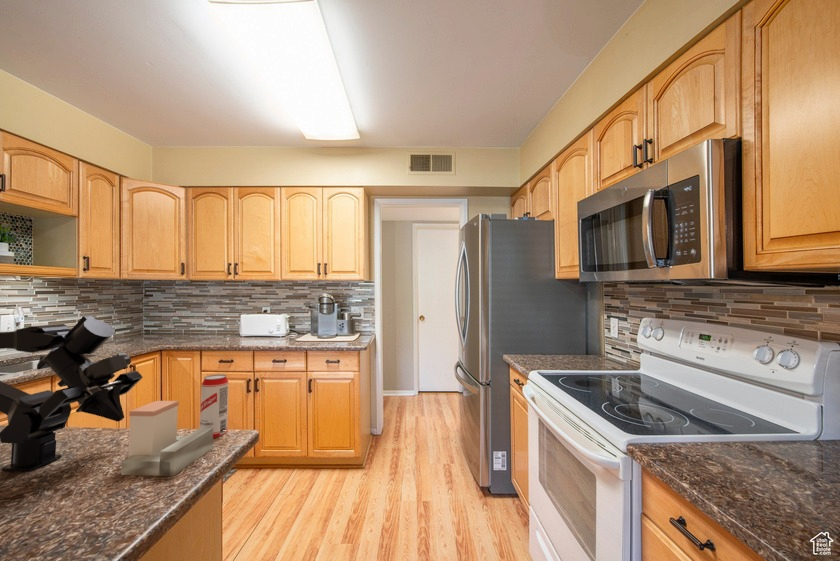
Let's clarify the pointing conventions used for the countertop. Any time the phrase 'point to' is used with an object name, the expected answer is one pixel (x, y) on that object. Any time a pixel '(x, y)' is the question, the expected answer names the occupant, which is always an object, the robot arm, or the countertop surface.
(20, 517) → the countertop surface
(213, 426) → the beer can
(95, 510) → the countertop surface
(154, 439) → the push key
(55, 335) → the robot arm
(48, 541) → the countertop surface
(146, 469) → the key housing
